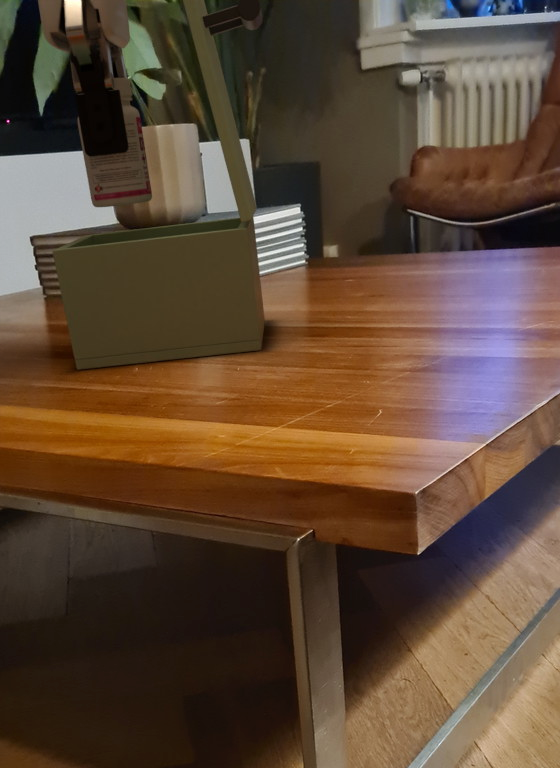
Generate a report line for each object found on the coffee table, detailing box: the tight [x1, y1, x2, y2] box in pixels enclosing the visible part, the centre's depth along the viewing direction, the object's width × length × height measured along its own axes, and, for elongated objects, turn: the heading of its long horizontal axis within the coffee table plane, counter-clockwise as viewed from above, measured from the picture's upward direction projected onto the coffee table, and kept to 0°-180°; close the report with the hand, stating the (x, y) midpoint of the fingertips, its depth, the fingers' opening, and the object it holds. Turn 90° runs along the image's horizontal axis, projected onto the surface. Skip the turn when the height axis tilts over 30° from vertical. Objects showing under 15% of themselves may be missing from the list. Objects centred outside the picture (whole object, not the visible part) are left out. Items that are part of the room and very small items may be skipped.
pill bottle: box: [77, 77, 153, 208], centre depth 70 cm, size 5×5×8 cm
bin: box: [51, 216, 266, 371], centre depth 75 cm, size 15×13×9 cm
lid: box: [182, 0, 264, 222], centre depth 69 cm, size 15×13×5 cm
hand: (113, 150), depth 70 cm, fingers closed on pill bottle, 4 cm apart
